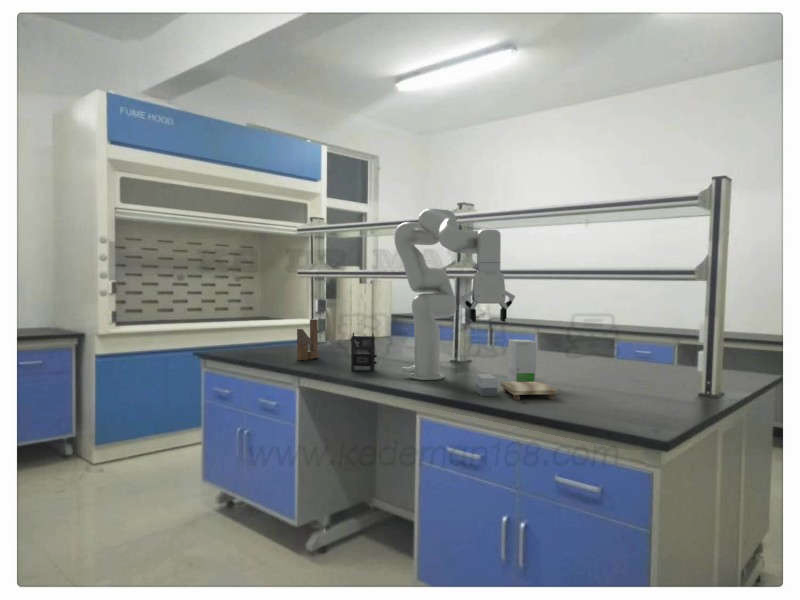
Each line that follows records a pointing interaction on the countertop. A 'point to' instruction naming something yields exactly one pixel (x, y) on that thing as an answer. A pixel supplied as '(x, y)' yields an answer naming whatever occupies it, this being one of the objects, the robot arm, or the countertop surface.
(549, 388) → the beech stand
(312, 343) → the wooden block
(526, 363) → the skincare box
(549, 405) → the countertop surface
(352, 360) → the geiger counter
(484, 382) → the housing
